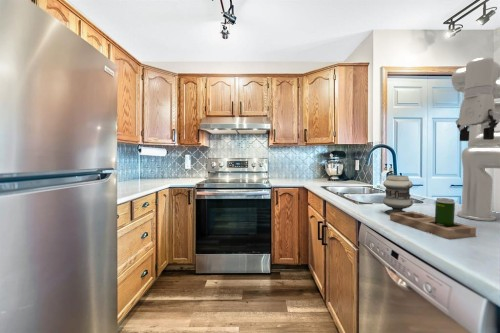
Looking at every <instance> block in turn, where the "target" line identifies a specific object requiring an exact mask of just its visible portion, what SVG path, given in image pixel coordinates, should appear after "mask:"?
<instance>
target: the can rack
mask: <svg viewBox="0 0 500 333" xmlns="http://www.w3.org/2000/svg"><path fill="white" fill-rule="evenodd" d="M389 220H390V221H392V222H395V223H398V224H401V225H405V226H407V227H410V228H412V229H413V228H414V229H417V230H420V231H423V232H425V233H428V232H429V234H431V233H432V235H434V234H435V235H434V236H438V237H441V238H442V239H443V238H444V239H446V240H454V239H455V240H456V239H463V238H465V239H466V238H474V237H476V236H477V227H476V226H471V225H468V224H467V225H466V224H464V223H458V222H455V221H454V227H448V228H447V227H443V226H440V225H436V224H435V216H432V215H428V214H424V213H420V212H417V211H416V212H415V211H406V212H399V213H390V214H389Z"/></svg>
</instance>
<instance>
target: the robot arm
mask: <svg viewBox="0 0 500 333" xmlns="http://www.w3.org/2000/svg"><path fill="white" fill-rule="evenodd" d="M451 85H452V86H453V89H454V91H456V92H458V93H464V95H463V100H462V101H461V105H460V107H459V108H460V109H459V115H458V118H457V119H456V120H455V124H456V127H457V129H458V132H459V142H467V146H468V147H466V148H464V149H463V150H462V152H461V163H462V195H461V196H462V197H461V211H457V212H456V215H457V216H459V217H461V218H464V219H469V220H473V221H474V220H476V221H484V222H487V221H488V222H489V221H490V222H493V221H496V219H497V218H496V216H494V215H492V198H493V196H492V195H493V182H494V181H493V178H492V175H491V174H490V173H489V172H488V171H487V170H485V169H500V130H495V129H496V128H497V126H498V124H499V123H500V100H498V99H500V64H499V63H498V62H496V61H494V58H493V57H489V56H487V57H486V56H485V57H478V58H475V59H472V60H469V61H468V62H467V63H466V65H465V66H464V67H459V68H457V69H455V70H454V71H453V73H452V75H451ZM495 99H496V100H495Z"/></svg>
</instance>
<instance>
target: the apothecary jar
mask: <svg viewBox="0 0 500 333" xmlns="http://www.w3.org/2000/svg"><path fill="white" fill-rule="evenodd" d="M382 184H383V186H384V187H385V197H384V198H383V199H382V202H383V204H384V205H385V206H386V207H389V208H391V209H387V210H385V211H384V213H386V215H390V213H399V212H407V211H405V210H406V209H409V208H410V207H412V206H413V203H414V202H413V200H412V198H410V189H412V188H413V187H414V186H413V185H414V184H413V182H412V181H410V179H409V176H408V175H396V174H395V175H394V174H393V175H390V174H389V175H387V177H386V179H385V180H384V181H383V183H382Z"/></svg>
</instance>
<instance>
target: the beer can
mask: <svg viewBox="0 0 500 333" xmlns="http://www.w3.org/2000/svg"><path fill="white" fill-rule="evenodd" d="M434 207H435V208H434V209H435V210H434V211H435V212H434V217H435V224H436V225H440V226H443V227H447V228H448V227H454V222H455V213H456V212H455V209H456V202H455V199H452V198H446V197H437V198H436V200H435V206H434Z"/></svg>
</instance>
